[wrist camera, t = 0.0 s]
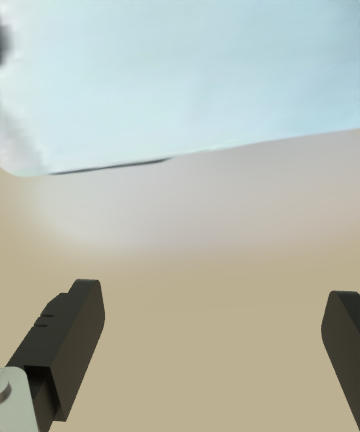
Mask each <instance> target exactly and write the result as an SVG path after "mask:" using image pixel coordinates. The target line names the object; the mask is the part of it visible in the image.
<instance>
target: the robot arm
mask: <svg viewBox="0 0 360 432" xmlns="http://www.w3.org/2000/svg"><path fill="white" fill-rule="evenodd" d="M104 321H105V311H104V304H103V298H102V291H101V285H100V282H99V281H98V280H88V279H77V280H76V281H75V282H74V283H73V285H72V287H71V288H70V290H69V292H68V293H60V294H59V295H58V296H56V297H55V298H54V299H53V300H51V301H50V302H49V303H48V304H47V306H46V307H45V309H44V310H43V311H42V313H41V316H40V317H38V319H37V320H36V322H35V323H34V326H33V327H32V328H31V329H30V331H29V332H28V334H27V335H26V337H25V338H24V340H23V341H22V343H21V344H20V345H19V347H18V348H17V350H16V351H15V353H14V354H13V356H12V357H11V359H10V361H9V362H8V363H7V365H6V366H5V367H4V368H0V432H48V431H49V429H50V426H51V424H52V422H53V421H63V422H65V421H66V420H67V418H68V415H69V413H70V410H71V407H72V405H73V403H74V400H75V398H76V395H77V393H78V390H79V388H80V385H81V383H82V380H83V377H84V375H85V372H86V370H87V368H88V365H89V363H90V360H91V358H92V355H93V353H94V350H95V348H96V345H97V343H98V340H99V338H100V335H101V333H102V330H103V327H104ZM321 333H322V340H323V343H324V346H325V348H326V351H327V353H328V356H329V358H330V360H331V363H332V365H333V368H334V370H335V372H336V375H337V377H338V380H339V382H340V384H341V387H342V389H343V392H344V394H345V397H346V399H347V401H348V404H349V406H350V409H351V411H352V414H353V416H354V418H355V421H356V423H357V425H358V428H359V430H360V295H359V293H357V292H352V291H331V292H330V294H329V297H328V302H327V305H326V309H325V313H324V317H323V321H322V325H321Z"/></svg>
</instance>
